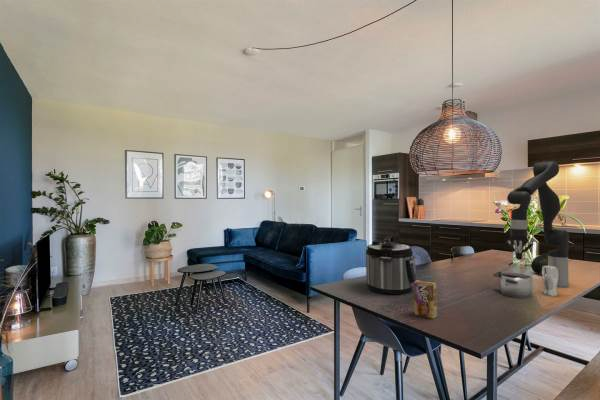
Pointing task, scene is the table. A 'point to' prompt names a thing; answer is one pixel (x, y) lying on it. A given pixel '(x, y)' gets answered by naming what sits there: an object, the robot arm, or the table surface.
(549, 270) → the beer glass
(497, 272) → the lid
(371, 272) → the pressure cooker
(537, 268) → the squash
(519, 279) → the pot
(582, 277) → the table surface
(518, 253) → the robot arm
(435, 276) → the table surface
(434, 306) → the candy box
